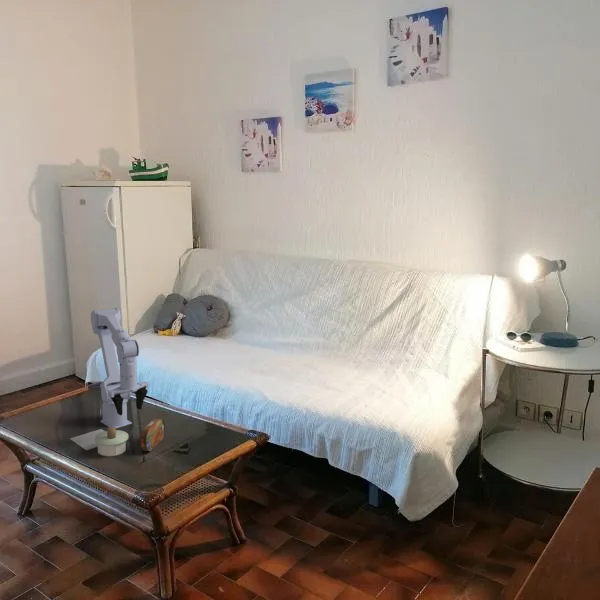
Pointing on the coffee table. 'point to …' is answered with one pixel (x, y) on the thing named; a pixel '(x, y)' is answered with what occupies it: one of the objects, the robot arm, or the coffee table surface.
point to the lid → (111, 437)
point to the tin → (152, 434)
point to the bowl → (111, 449)
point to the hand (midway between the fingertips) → (129, 411)
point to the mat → (87, 439)
